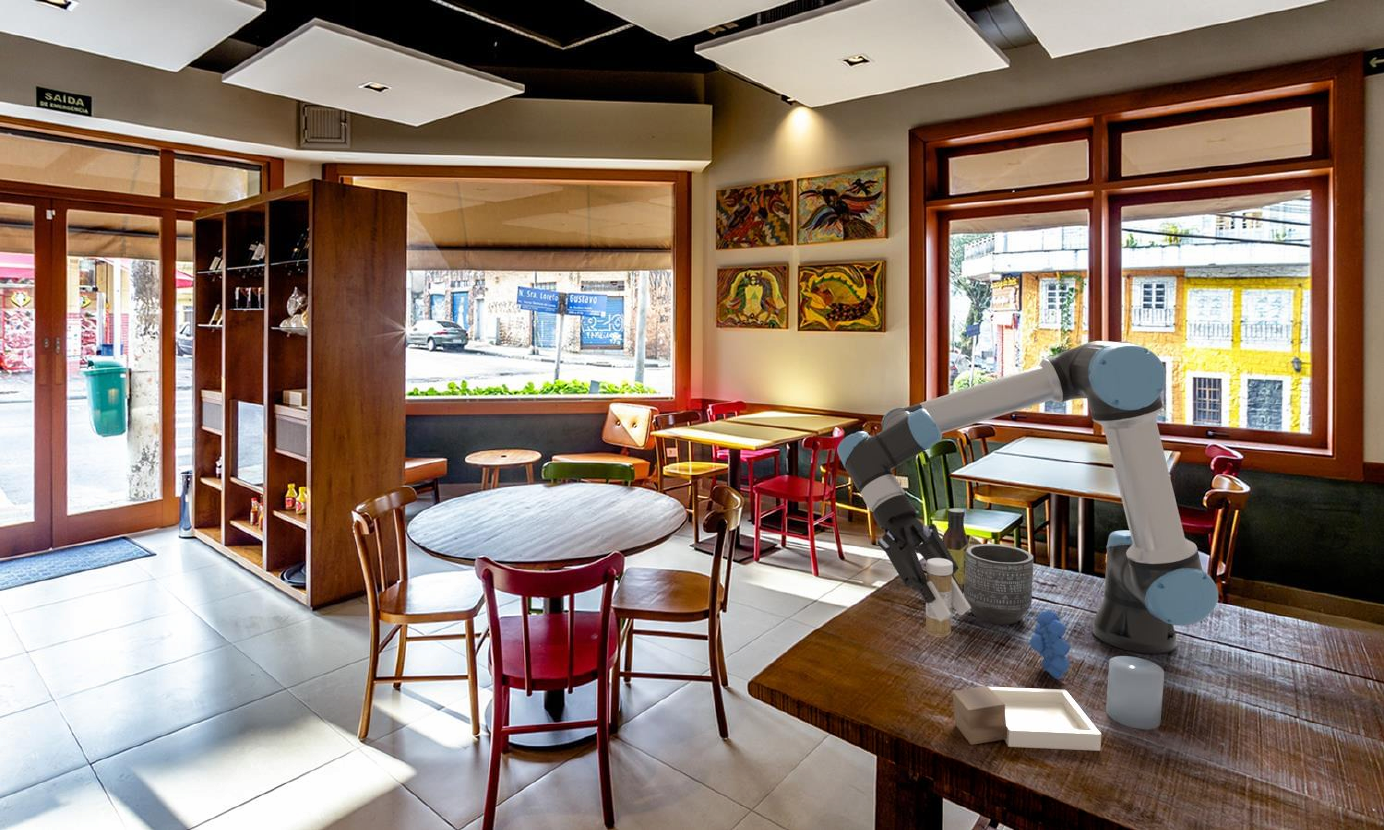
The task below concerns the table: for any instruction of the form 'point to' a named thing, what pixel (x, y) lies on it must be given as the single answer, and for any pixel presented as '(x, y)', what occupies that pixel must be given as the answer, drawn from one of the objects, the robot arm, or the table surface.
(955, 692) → the walnut block
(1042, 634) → the grapes
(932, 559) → the sprinkles bottle
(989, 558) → the planter
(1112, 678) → the pale grey rounded cylinder
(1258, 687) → the table surface
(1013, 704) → the tray
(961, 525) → the sauce bottle
